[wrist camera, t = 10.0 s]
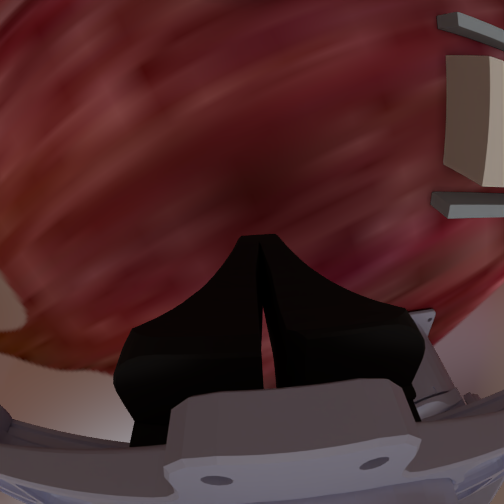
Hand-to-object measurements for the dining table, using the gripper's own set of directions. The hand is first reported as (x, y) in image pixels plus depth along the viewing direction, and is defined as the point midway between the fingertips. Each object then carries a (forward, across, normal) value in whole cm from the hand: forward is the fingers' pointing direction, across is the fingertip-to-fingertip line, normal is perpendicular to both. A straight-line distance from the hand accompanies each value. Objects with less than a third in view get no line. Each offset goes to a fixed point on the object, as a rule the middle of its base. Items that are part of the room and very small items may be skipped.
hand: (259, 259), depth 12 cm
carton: (+10, -19, -5) cm, 22 cm away
